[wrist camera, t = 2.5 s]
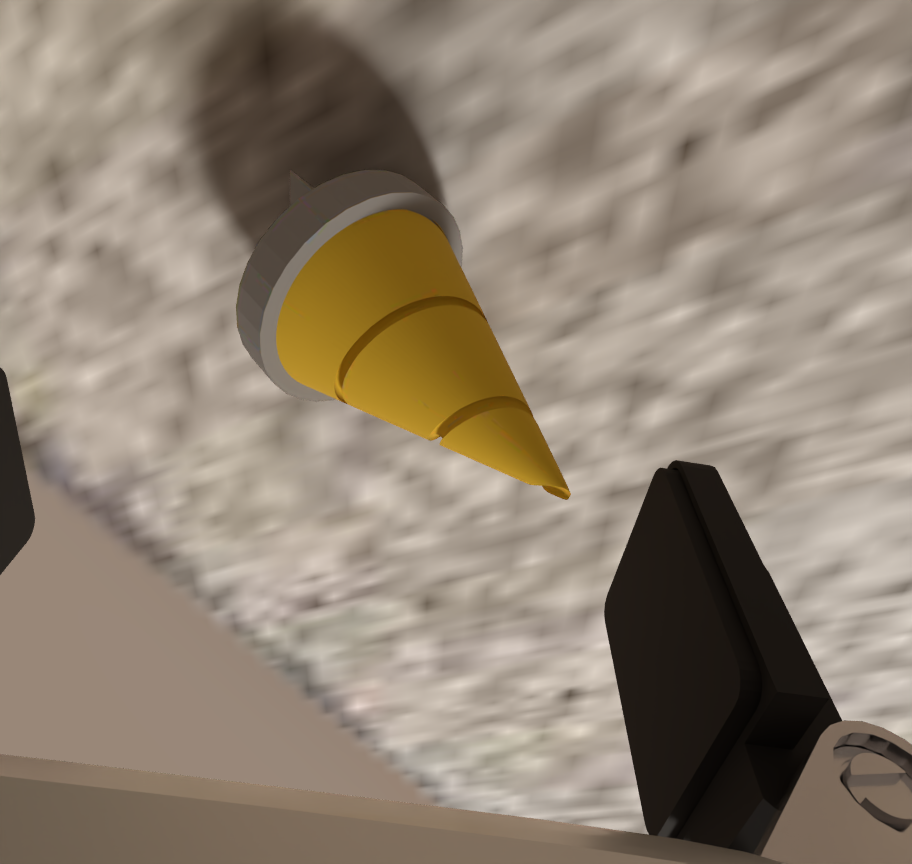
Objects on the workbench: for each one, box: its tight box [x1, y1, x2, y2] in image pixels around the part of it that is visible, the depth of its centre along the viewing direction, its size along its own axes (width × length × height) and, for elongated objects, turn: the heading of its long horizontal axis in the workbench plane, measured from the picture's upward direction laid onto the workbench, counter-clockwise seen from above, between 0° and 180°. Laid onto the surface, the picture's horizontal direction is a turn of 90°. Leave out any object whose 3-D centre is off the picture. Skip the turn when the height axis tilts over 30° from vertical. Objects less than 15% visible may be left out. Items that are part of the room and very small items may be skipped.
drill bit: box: [236, 170, 571, 500], centre depth 15 cm, size 5×5×10 cm
